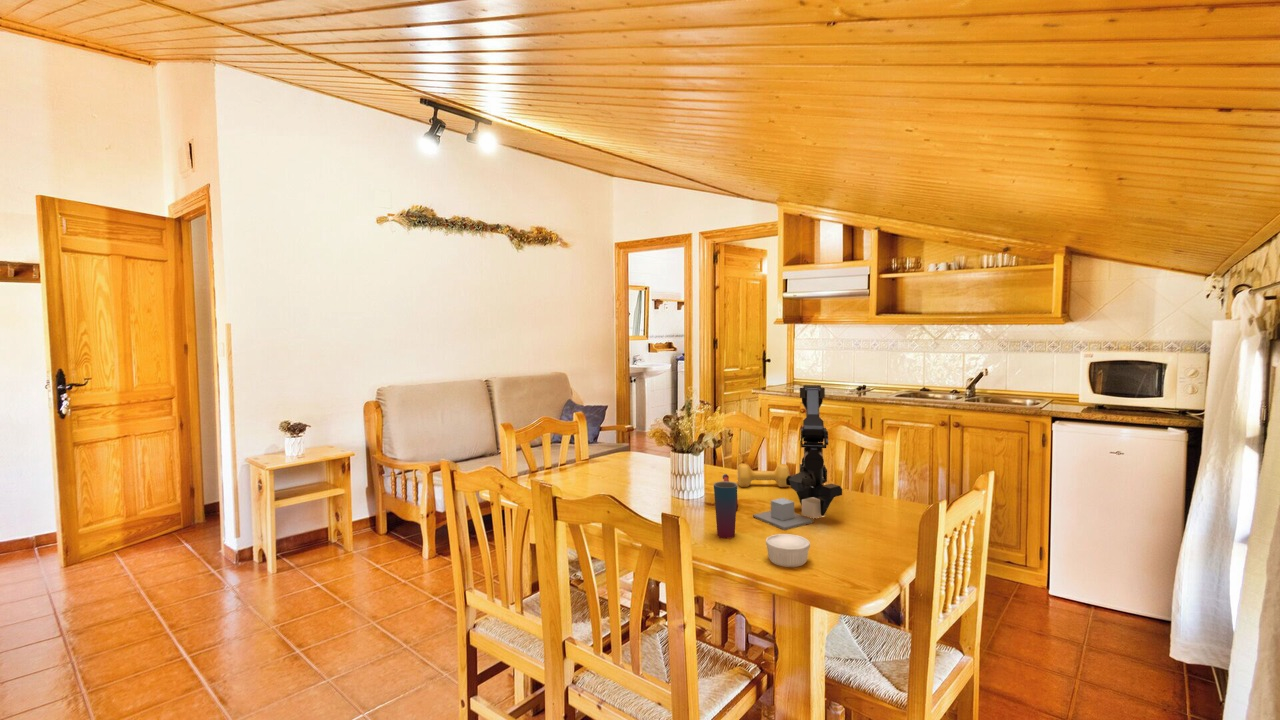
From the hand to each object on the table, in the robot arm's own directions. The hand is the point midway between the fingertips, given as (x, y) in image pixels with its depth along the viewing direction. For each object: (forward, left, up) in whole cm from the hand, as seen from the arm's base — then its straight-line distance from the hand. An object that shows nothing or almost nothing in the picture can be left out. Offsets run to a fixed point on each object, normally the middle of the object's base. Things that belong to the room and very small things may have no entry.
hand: (813, 512), depth 193 cm
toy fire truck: (+17, -22, -1) cm, 28 cm away
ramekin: (+32, +22, -1) cm, 39 cm away
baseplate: (+11, -2, -1) cm, 11 cm away
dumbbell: (-10, -35, -2) cm, 36 cm away
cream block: (0, 0, -1) cm, 1 cm away
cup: (+34, -1, -1) cm, 34 cm away
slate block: (+11, -2, 0) cm, 11 cm away
